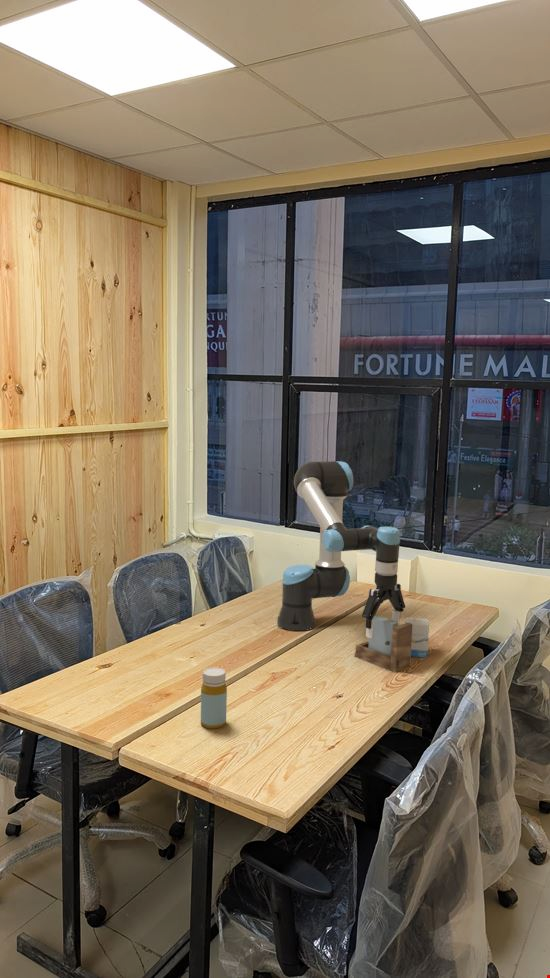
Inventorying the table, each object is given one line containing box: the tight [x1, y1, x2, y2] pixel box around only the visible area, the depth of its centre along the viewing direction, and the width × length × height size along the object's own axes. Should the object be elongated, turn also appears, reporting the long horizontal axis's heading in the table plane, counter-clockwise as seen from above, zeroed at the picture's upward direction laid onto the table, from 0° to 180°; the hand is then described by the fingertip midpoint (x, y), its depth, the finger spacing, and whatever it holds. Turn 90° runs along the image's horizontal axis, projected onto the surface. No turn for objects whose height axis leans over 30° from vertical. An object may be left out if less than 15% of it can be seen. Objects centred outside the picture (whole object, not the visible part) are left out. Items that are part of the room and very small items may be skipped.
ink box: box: [404, 617, 430, 658], centre depth 253 cm, size 9×8×12 cm
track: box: [354, 622, 412, 673], centre depth 243 cm, size 18×8×15 cm, turn 42°
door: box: [368, 614, 398, 656], centre depth 242 cm, size 10×4×14 cm, turn 42°
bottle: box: [200, 666, 228, 730], centre depth 194 cm, size 7×7×15 cm
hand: (382, 633), depth 243 cm, fingers open, 13 cm apart
